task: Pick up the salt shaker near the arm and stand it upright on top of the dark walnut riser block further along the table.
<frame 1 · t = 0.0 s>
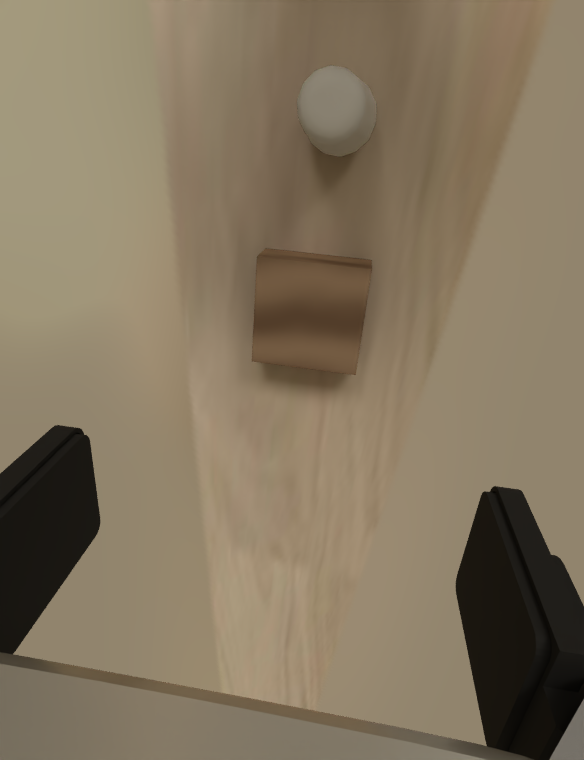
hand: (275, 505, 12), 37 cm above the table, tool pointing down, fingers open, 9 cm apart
walnut riser: (312, 305, 48), on the table
salt shaker: (341, 117, 41), on the table
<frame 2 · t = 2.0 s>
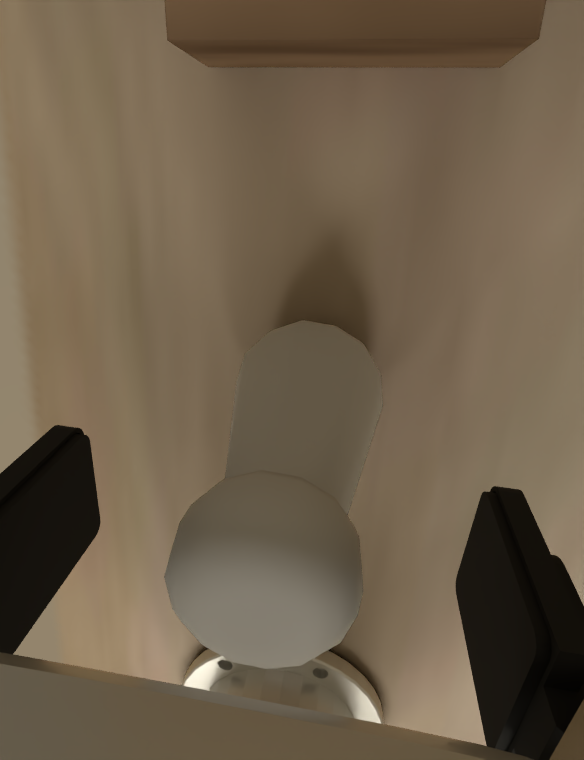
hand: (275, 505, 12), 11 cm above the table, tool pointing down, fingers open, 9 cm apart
salt shaker: (314, 368, 22), on the table
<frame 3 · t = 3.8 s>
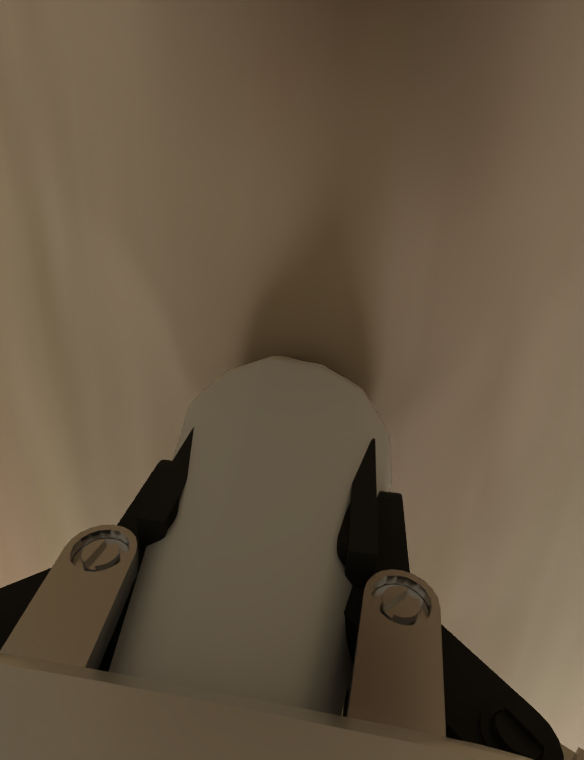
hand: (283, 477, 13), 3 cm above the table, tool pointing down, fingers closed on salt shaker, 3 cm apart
salt shaker: (296, 413, 16), on the table, touching gripper
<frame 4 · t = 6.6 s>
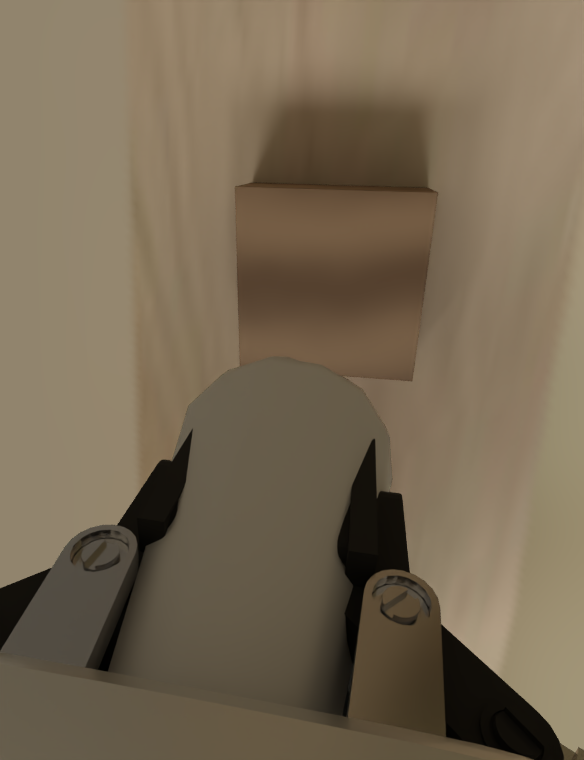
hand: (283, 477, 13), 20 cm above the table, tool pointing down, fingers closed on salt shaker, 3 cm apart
walnut riser: (333, 273, 30), on the table
salt shaker: (296, 413, 16), point 16 cm above the table, touching gripper
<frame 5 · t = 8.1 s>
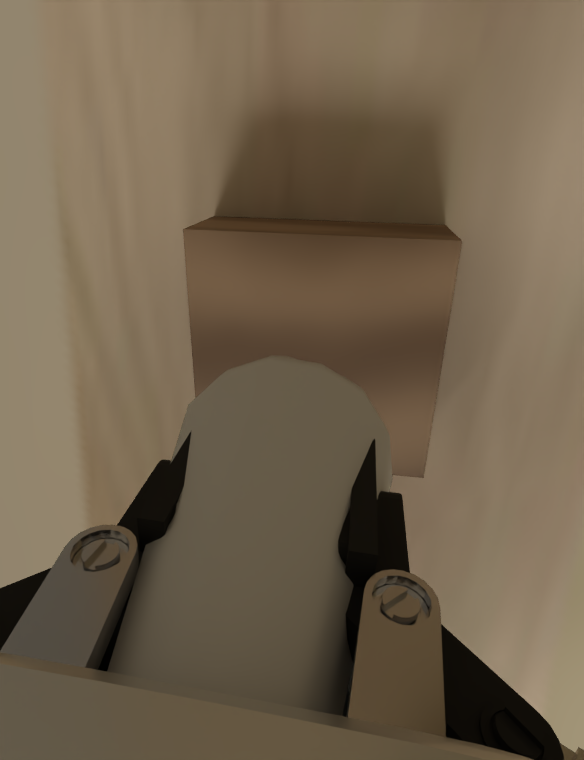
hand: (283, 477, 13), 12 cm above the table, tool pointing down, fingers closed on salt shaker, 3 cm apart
walnut riser: (321, 330, 23), on the table
salt shaker: (296, 413, 16), point 8 cm above the table, touching gripper
when the fingers open (9 cm above the table, at t = 9.4 s): salt shaker drops 1 cm, resting on walnut riser.
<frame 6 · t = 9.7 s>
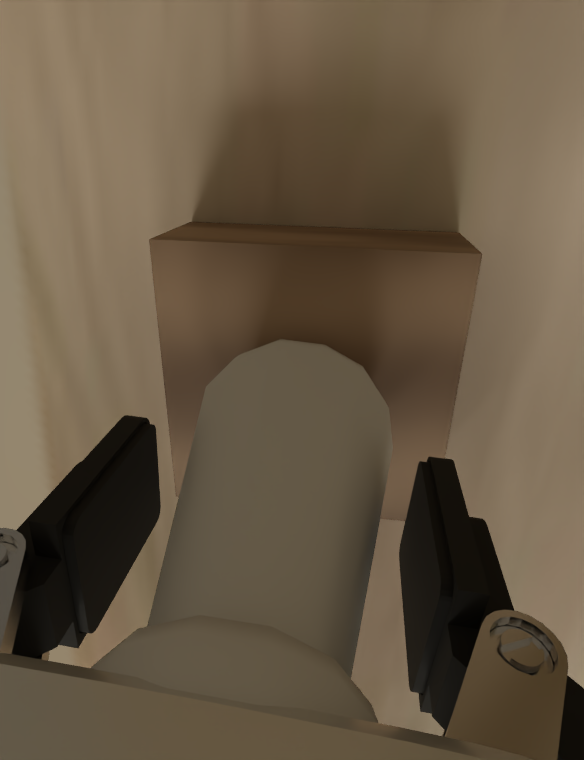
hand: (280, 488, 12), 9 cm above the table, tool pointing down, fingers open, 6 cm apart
walnut riser: (315, 351, 20), on the table
salt shaker: (301, 400, 17), point 4 cm above the table, touching walnut riser
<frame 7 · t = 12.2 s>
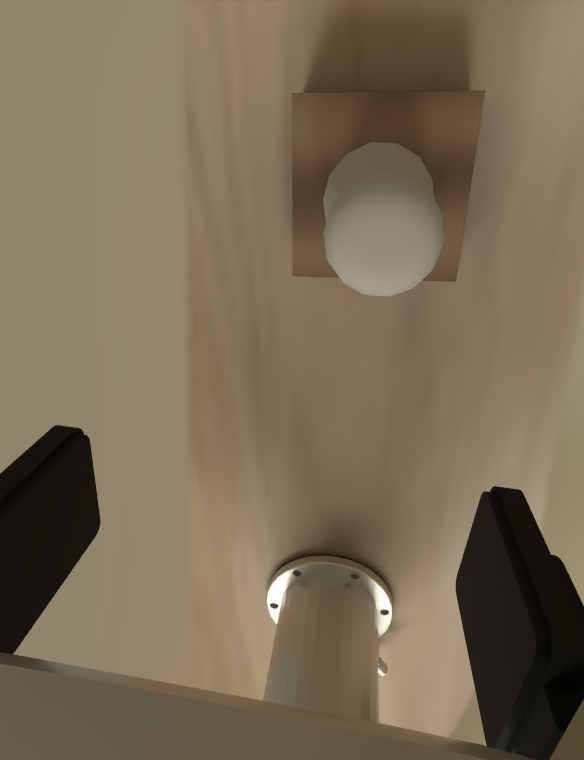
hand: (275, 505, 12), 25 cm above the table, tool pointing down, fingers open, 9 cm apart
walnut riser: (377, 185, 32), on the table
salt shaker: (377, 196, 28), point 4 cm above the table, touching walnut riser
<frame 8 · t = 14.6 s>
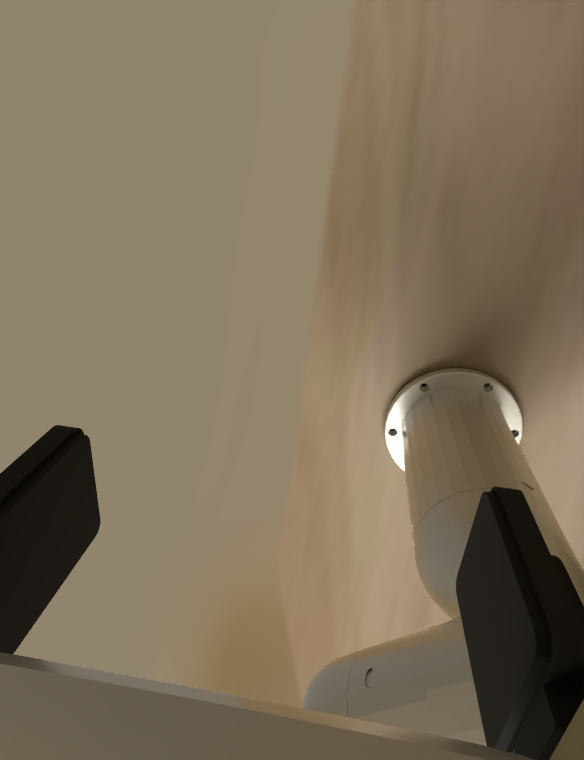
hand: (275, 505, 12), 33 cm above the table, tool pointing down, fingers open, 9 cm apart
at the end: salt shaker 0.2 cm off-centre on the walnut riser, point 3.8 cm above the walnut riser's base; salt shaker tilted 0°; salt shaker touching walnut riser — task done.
